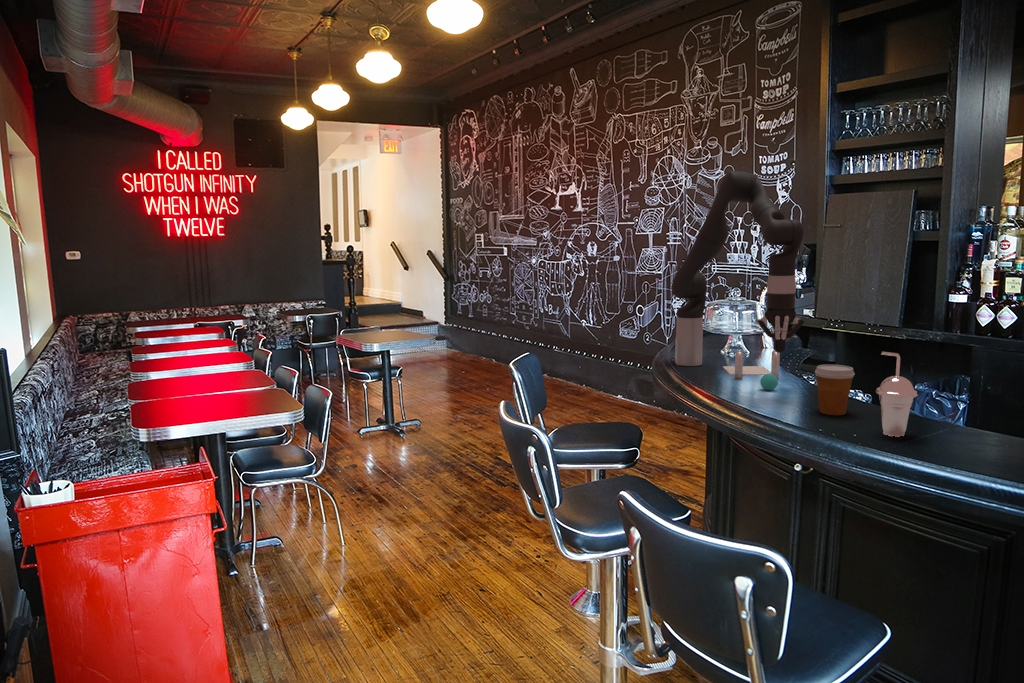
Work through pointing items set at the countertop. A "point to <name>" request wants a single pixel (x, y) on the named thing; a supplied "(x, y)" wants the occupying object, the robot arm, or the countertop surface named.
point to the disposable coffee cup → (833, 388)
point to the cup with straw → (895, 401)
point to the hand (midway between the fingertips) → (779, 352)
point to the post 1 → (738, 365)
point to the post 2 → (775, 364)
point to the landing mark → (748, 370)
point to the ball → (769, 382)
